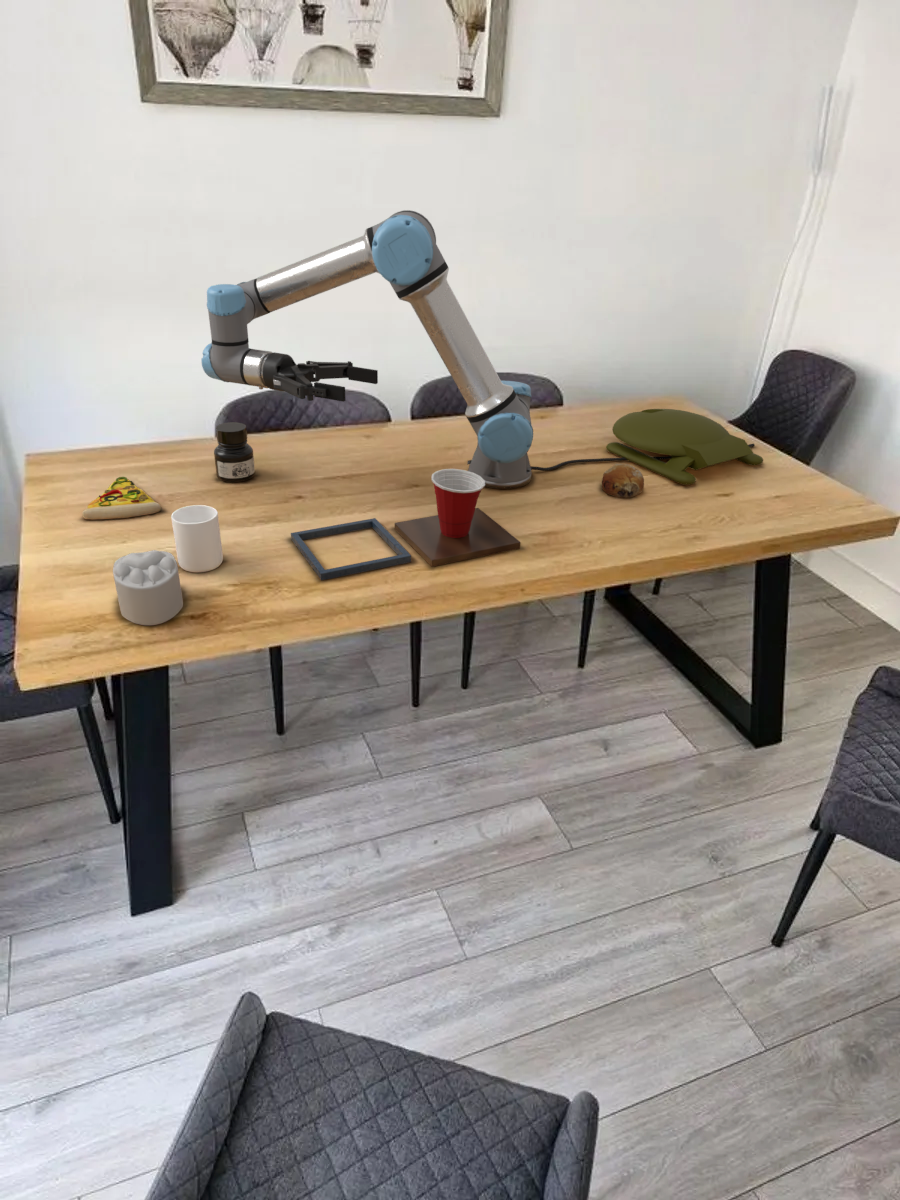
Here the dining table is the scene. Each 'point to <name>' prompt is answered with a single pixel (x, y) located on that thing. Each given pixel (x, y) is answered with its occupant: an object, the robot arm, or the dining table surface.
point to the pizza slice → (121, 502)
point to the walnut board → (456, 539)
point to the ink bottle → (233, 453)
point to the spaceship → (677, 442)
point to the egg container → (148, 587)
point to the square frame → (353, 568)
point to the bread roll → (622, 481)
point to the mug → (197, 538)
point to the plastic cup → (456, 500)
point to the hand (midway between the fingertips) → (361, 385)
